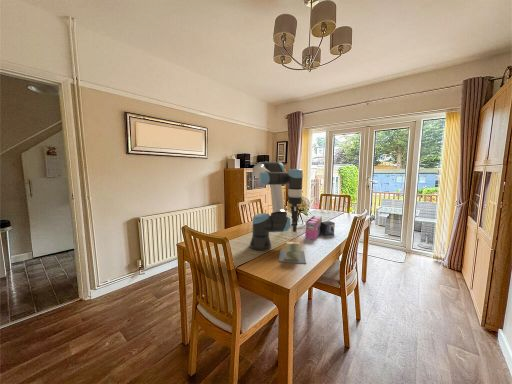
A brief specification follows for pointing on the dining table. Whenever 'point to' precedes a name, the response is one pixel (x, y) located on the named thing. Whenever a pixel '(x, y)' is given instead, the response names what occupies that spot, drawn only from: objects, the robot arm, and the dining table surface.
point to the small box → (327, 228)
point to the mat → (283, 259)
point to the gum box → (313, 227)
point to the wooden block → (292, 250)
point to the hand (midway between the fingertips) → (293, 233)
